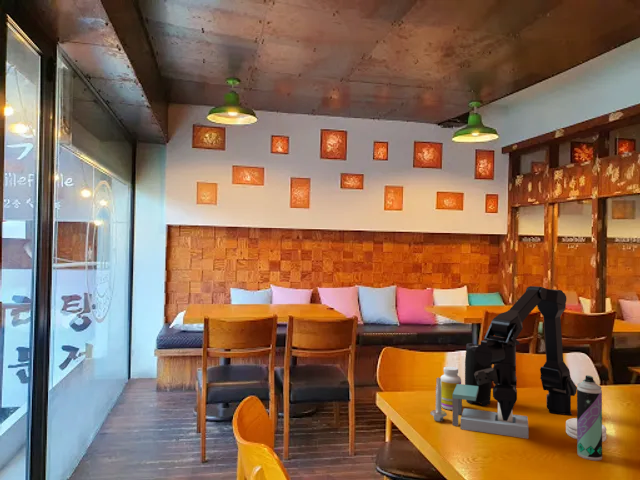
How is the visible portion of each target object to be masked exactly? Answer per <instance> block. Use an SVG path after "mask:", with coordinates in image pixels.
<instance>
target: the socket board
mask: <svg viewBox="0 0 640 480" xmlns="http://www.w3.org/2000/svg"><path fill="white" fill-rule="evenodd" d="M528 418H529V417H528V416H527V415H521V414H513V423H509V422H502V421H498V411H497V412H495V411H490V410H489V411H488V410H487V411H486V410H480V409H472V408H464V407H463V409H462V415H460V430H464V431H465V430H466V431H472V432H473V431H474V432H478V433H479V432H480V433H487V434H493V435H500V436H508V437H514V438H521V439H529V420H528Z"/></svg>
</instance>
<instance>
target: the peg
mask: <svg viewBox="0 0 640 480" xmlns="http://www.w3.org/2000/svg"><path fill="white" fill-rule="evenodd" d="M497 412H498V421H502V422H509V423H513V415H514V414H513V409H512V411H511V413H510V416H509V418H508V420H507V421H504V420H503V418H502V413H501V409H500V404H499V402H498V401H497Z"/></svg>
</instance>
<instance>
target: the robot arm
mask: <svg viewBox="0 0 640 480" xmlns="http://www.w3.org/2000/svg"><path fill="white" fill-rule="evenodd" d="M566 304H567V295H566V293H565V292H563V290H561V289H553V288H546V287H543V286H536V285H532V286H531V285H530V286H527V287H526V290H525V292H524V293H523V294H522V295H521V296H520V297H519V298H518V299H517V301H515V303H514V304H513V305H512V306H511V307H510V308H509V309H508V310H507V311H505V312H501V313H499V314H498V315H497V316H495V317H494V318H492V320H491V322H490V325H489V326H488V330H486V333H485V336H484V339H483V340H480V344H481V345H479V346H478V347H477V348H476V350H475V358H476V360H477V362H478V363H479V364H481V365H483V366H487V365H491V366H493V367H491V368H488V369H484V370H480V371H477V372H475V374H474V376H475V378H476V379H475V380H476V381H477V384H478V385H483V384H484V383H489V382H491V383H492V384H493V385H494V386H493V387H492V397H493V399H494V400H495V401H497V403H498V402H499V404H500V409H501V413H502V418H503V420H504V421H507V420H508V418H509V416H510V413H511V411H512V409H513V408H514V406H515V405H516V403H517V401H518V388H517V382H518V381H517V379H518V378H517V366H516V365H517V349H516V348H517V346H519V345H520V343H521V342H520V341H519V340H517V338H518V337H519V335H520V334H521V332H522V331H523V323H524V321H525V319H527V317H528V316H529V315H530V314H531V313H532V311H533V310H534V309H535V308H536V307H537V309H538V311H539V313H540V314H541V316H542V317H543V329H544V332H543V333H544V345H545V362H544V364H543V366H540V369H539V371H540V378H539V379H540V381H541V385H542V390H543V391H546V392H547V391H548V393H547V394H546V409H547V410H548V412H549V413H551V414H559V415H568V416H572V415H573V414H572V409H571V408H572V399H571V398H572V397H575V396H576V395H577V387H578V386H577V385H576V384H575V382H574V381H573V379H572V377H571V372H570V369H569V367H568V366H567V364H566V363H565V361H564V352H563V335H562V334H563V333H562V320H561V319H562V318H561V317H562V315H563V314H564V312H565V310H566V307H567V306H566Z"/></svg>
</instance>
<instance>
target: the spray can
mask: <svg viewBox="0 0 640 480" xmlns="http://www.w3.org/2000/svg"><path fill="white" fill-rule="evenodd" d="M576 387H577V392H576V418H577V439H576V440H577V441H576V443H577V445H576V447H577V448H576V449H577V450H576V452H577V455H578V457H580V458H582V459H584V460H588V461H589V460H590V461H601V460H602V459H603V442H602V424H603V393H602V392H603V390H602V386H600V385H599V384H598V383H596V381H595V380H594V377H593V376H591V375H589V374H588V375H585V377H584V379H583V380H582V382H579V383H577V385H576Z"/></svg>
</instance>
